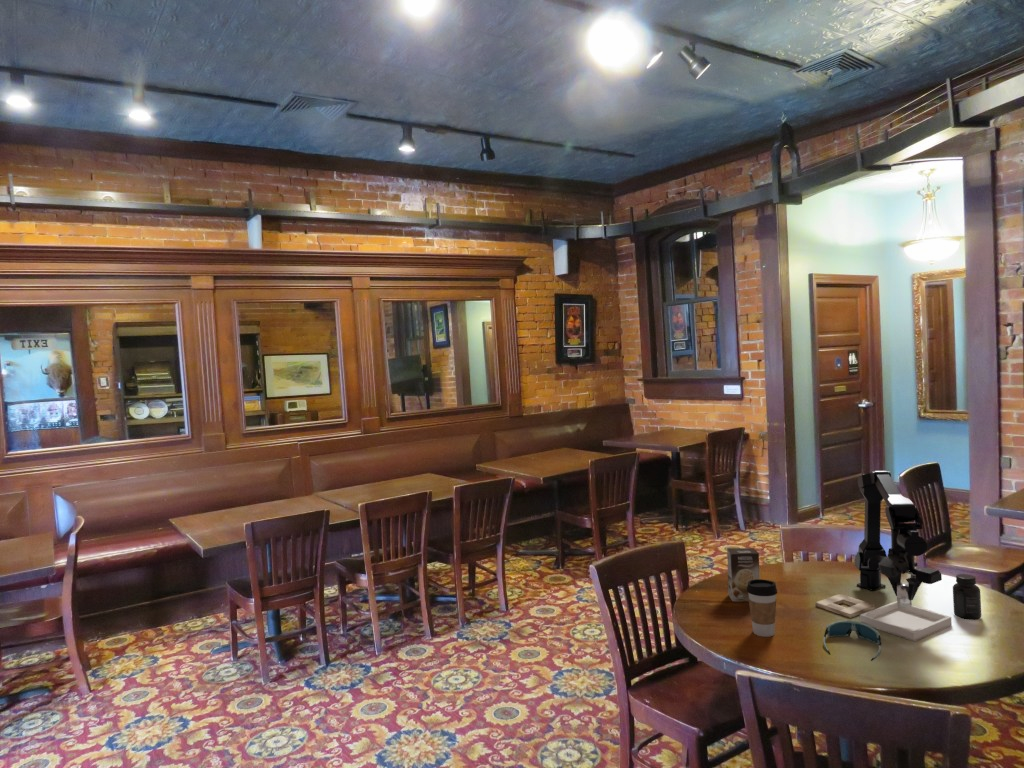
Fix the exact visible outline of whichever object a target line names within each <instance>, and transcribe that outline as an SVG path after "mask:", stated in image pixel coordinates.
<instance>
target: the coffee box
mask: <svg viewBox="0 0 1024 768" xmlns="http://www.w3.org/2000/svg"><path fill="white" fill-rule="evenodd" d="M726 554H727V555H726V557H727V558H726V560H727V561H726V562H727V589H728V592H727V593H728V597H729V598H730V600H731V601H732V602H749V599H748V597H749V593H748V592H747V586H748V582H749V581H750V580H755V579H761V577H760V553H759V551H757V549H755V547H745V548H741V547H740V548H739V547H735V548H726Z"/></svg>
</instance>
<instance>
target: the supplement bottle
mask: <svg viewBox="0 0 1024 768" xmlns="http://www.w3.org/2000/svg"><path fill="white" fill-rule="evenodd" d="M955 579H956V581H955V582H956V583H955V584H953V585H952V599H953V601H952V602H953V603H952V604H953V614H954V616H955V617H957V618H959V619H962V620H967V621H977V620H980V619H981V618H982V601H981V599H982V597H981V596H982V595H981V588H980V587H979V586H978V585H977V579H976V576H975V575H972V574H967V573H960V574H956V577H955Z"/></svg>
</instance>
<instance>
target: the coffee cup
mask: <svg viewBox="0 0 1024 768" xmlns="http://www.w3.org/2000/svg"><path fill="white" fill-rule="evenodd" d="M747 592H748V593H749V597H748V599H749V601H748V604H749V606H748V607H749V612H750V613H749V614H750V620H751V625H752V632H753V634H754V635H757V636H758V637H762V638H763V637H764V638H765V637H766V638H767V637H772V636H775V631H776V616H777V615H776V613H777V594H778V588H777V583H776V582H774V581H773V580H769V579H763V578H760V579H755V580H750V581H749V582H748V586H747Z"/></svg>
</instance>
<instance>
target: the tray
mask: <svg viewBox="0 0 1024 768" xmlns="http://www.w3.org/2000/svg"><path fill="white" fill-rule="evenodd" d="M911 605H912V606H911V607H901V606H899V605H897V600H896V601H893V602H890V603H888V604H885V605H882V606H880V607H877V608H875V609H873V610H870V611H867V612H865V613H862V614H859V619H860V620H859V622H861V623H864V624H866V625H868V626H870V627H872V628H874V629H875V630H876V629H877V630H880V631H883V632H885V633H887V634H888V633H889V634H891V635H894V636H895V637H900V638H902V639H906V640H908V641H911V642H918V641H919V639H920V640H922V639H924V638H927V637H929V636H931V635H933V634H936V633H938V632H940V631H942V630H943V631H944V630H945V629H947V628H950V627H952V622H953V621H952V617H951V616H949V615H945V614H942V613H939V612H936V611H932V610H928V609H926V608H922V607H919V606H915V605H913V604H911Z"/></svg>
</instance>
